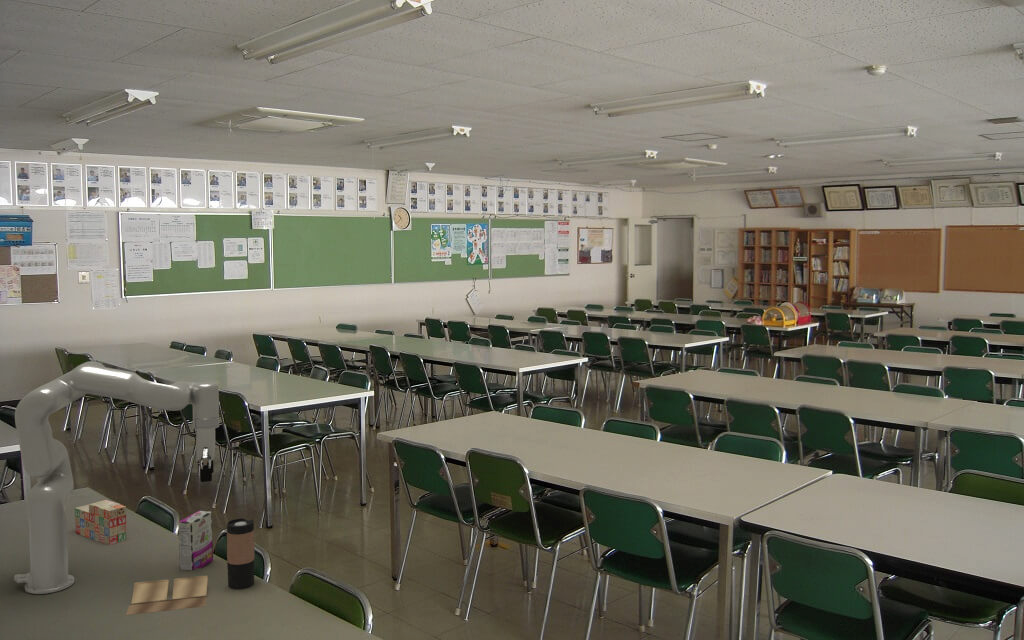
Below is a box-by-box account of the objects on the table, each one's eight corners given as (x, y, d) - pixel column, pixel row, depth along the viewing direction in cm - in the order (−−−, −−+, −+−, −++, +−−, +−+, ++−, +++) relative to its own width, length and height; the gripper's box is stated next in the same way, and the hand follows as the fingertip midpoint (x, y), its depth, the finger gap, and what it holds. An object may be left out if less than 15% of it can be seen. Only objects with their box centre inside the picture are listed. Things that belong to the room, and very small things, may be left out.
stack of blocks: (75, 533, 276) (74, 499, 275) (92, 528, 281) (91, 495, 281) (109, 545, 265) (108, 510, 264) (127, 540, 270) (126, 505, 269)
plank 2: (172, 601, 221) (172, 598, 220) (174, 581, 227) (174, 578, 226) (206, 598, 224) (206, 595, 223) (207, 578, 229) (207, 575, 229)
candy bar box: (199, 559, 253) (198, 510, 252) (213, 561, 252) (212, 511, 251) (178, 573, 242) (177, 521, 241) (192, 574, 241) (192, 522, 240)
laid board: (125, 619, 210) (125, 614, 210) (130, 608, 217) (130, 603, 217) (205, 610, 216) (205, 605, 216) (207, 599, 223) (207, 595, 223)
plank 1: (131, 606, 218) (131, 603, 217) (134, 585, 223) (134, 582, 223) (166, 602, 221) (166, 599, 220) (169, 582, 226) (168, 579, 226)
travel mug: (229, 595, 226) (228, 527, 225) (225, 585, 233) (224, 520, 231) (256, 590, 230) (256, 524, 228) (252, 581, 236) (251, 516, 235)
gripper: (195, 417, 247) (196, 471, 248) (190, 428, 230) (191, 485, 232) (220, 416, 249) (221, 469, 250) (217, 427, 233) (218, 483, 234)
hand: (207, 477), depth 241 cm, fingers open, 9 cm apart
